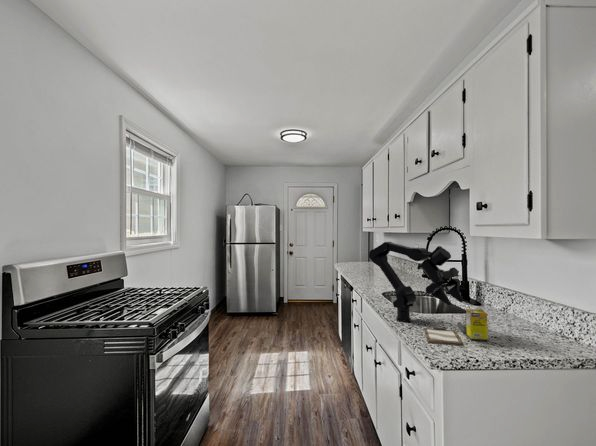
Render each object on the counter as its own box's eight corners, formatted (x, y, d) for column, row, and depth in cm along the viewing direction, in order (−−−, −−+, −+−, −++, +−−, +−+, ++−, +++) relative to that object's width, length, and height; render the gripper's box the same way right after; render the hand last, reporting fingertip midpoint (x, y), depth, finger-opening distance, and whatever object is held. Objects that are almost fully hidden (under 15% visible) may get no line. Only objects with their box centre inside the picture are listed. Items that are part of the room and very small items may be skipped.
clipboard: (424, 330, 139) (424, 326, 139) (454, 332, 136) (454, 328, 136) (427, 342, 124) (427, 338, 124) (462, 345, 121) (462, 341, 121)
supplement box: (488, 341, 125) (487, 313, 125) (471, 340, 126) (470, 312, 126) (482, 336, 131) (482, 309, 131) (466, 335, 132) (466, 308, 132)
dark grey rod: (457, 326, 146) (456, 322, 146) (462, 325, 146) (461, 321, 146) (463, 335, 134) (462, 330, 134) (468, 334, 133) (467, 330, 133)
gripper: (433, 262, 132) (458, 295, 124) (457, 259, 143) (482, 290, 135) (415, 278, 139) (438, 310, 131) (440, 274, 150) (462, 304, 142)
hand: (456, 303), depth 134 cm, fingers open, 9 cm apart
